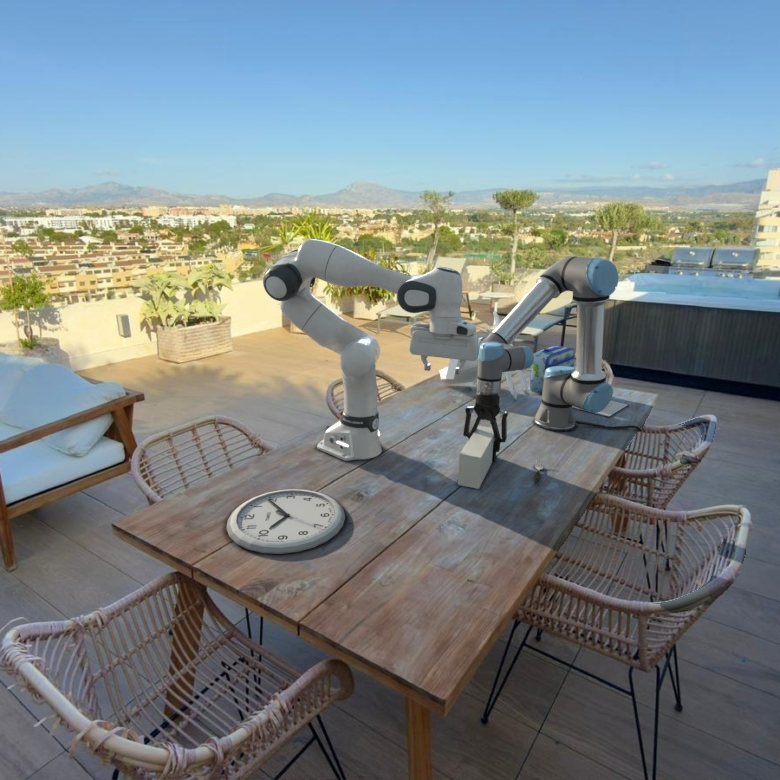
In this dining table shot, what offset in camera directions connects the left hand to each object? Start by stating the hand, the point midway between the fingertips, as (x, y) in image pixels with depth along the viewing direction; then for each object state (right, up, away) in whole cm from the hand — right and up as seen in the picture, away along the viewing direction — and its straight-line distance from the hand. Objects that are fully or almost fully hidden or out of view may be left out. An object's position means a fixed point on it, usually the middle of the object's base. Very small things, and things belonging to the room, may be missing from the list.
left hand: (442, 372), depth 154 cm
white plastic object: (+26, -6, +89) cm, 93 cm away
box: (+12, -31, +11) cm, 35 cm away
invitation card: (+76, -13, +72) cm, 106 cm away
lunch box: (+60, -6, +93) cm, 111 cm away
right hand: (+15, -28, +19) cm, 37 cm away
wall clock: (-42, -39, -18) cm, 60 cm away
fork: (+31, -32, +9) cm, 45 cm away
